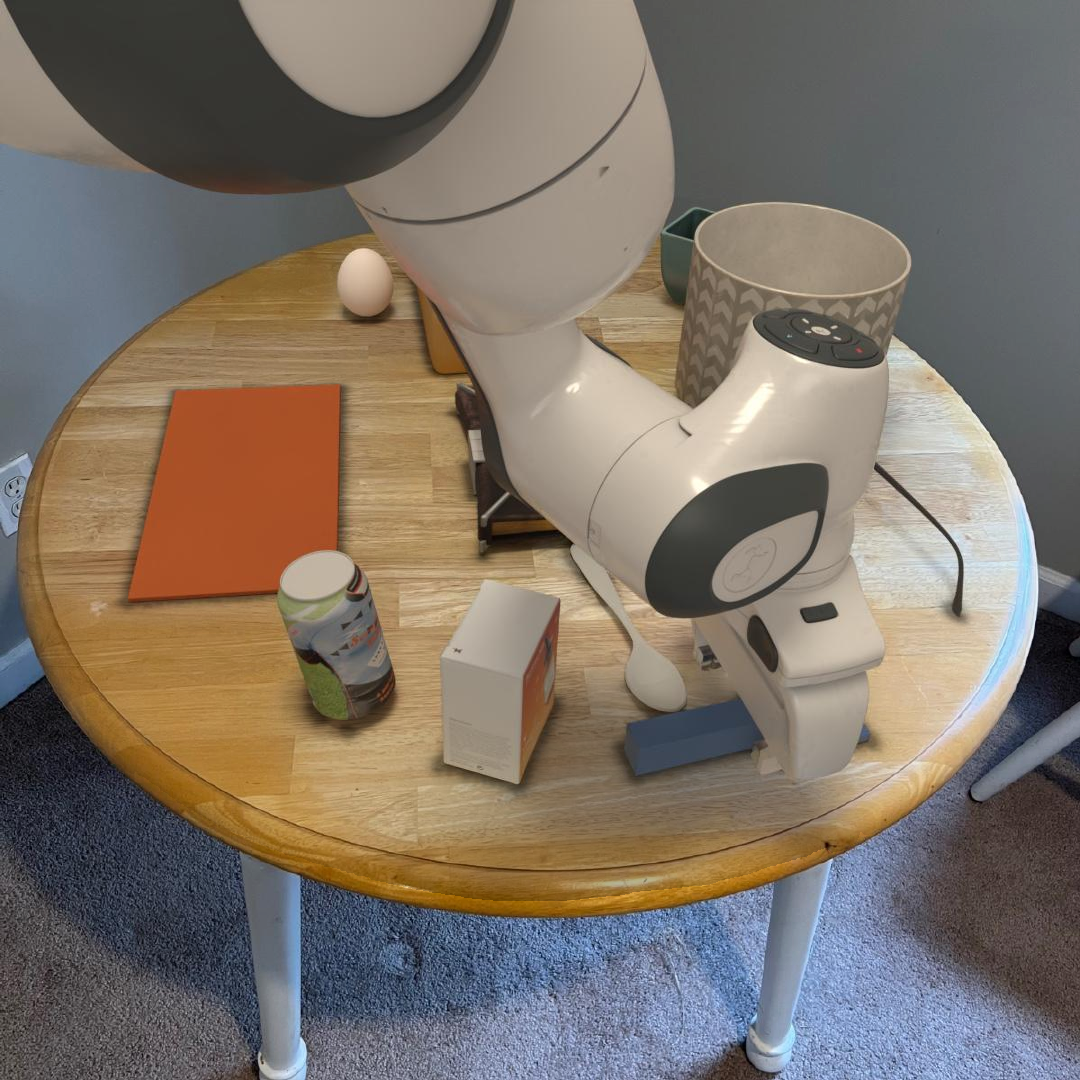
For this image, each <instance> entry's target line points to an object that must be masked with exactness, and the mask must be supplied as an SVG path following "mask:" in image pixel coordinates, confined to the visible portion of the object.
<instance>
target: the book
mask: <svg viewBox="0 0 1080 1080" xmlns="http://www.w3.org/2000/svg"><path fill="white" fill-rule="evenodd" d="M454 402H455V403H454V404H455V414H456V415H459V417H460V420H461V422H462V425H463V427H464V430H465V433H466V435H467V439H468V441H467V443H468V445H467V447H468V448H467V449H468V454H467V455H468V468H469V469H468V470H469V474H470V480H471V486H472V491H473V495H474V496H475V495H476V513H477V515H476V517H477V519H476V520H477V540H478V541H479V542H478V543H479V544H478V551H480V552H481V553H482V552H483V553H484V552H485V551H486V550H487V549H488V548H489V546H500V545H507V544H516V543H523V542H532V541H541V540H550V539H564V538H565V539H566V538H567V537H566V536H565V535H564V534H563V533H562V532H561V531H559V530H558V529H557V528H556V527H555V526H554V525H552V524H551V523H550V522H549V521H548V520H547V519H545V518H544V517H543V516H542V515H541V514H539V513H537V512H536V511H534V510H532V509H531V508H529V507H528V506H527V505H525V504H524V503H522V502H521V501H520V500H518V499H517V498H515V497H514V496H513V495H511V494H510V493H508V492H507V491H506V490H504V489H503V488H502V487H500V486H499V485H498V484H497V482H496V481H495V480H494V479H493V477H492V475H491V474H490V472H489V470H488V467H487V465H486V462H485V458H484V454H483V448H482V440H481V429H480V417H479V408H478V402H477V397H476V394H475V390H474V387H473V385H467V384H465V383H463V382H462V381H458V382H456V391H455V392H454Z"/></svg>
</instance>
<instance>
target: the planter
mask: <svg viewBox="0 0 1080 1080" xmlns="http://www.w3.org/2000/svg"><path fill="white" fill-rule="evenodd" d="M715 212H716V213H714V214H712V215H711V216H709V217H707V218H706V219H705V220H703V221H702V222H701V223H700V225H699V226H698V227H697V229H696V232H695V236H694V243H693V250H692V258H691V265H690V272H689V280H688V287H687V294H686V302H685V306H684V310H683V317H682V325H681V330H680V331H681V332H680V339H679V346H678V353H677V361H676V367H675V369H676V370H675V375H674V376H675V377H674V389H675V392H676V396H677V398H678V399H680V400H681V401H682V402H684V403H685V404H687V405H688V406H690V407H691V408H693V409H694V408H696V407H697V406H699V405H700V404H701V403H702V402H703V401H705V400H706V399H707V398H708V397H709V396H710V395H711V394H712V393H713V392H714V391H715V390H716V389H717V388H718V387H719V385H720V384H721V383H722V382H723V381H724V380H725V378H726V377H727V376H728V374H729V373H730V371H731V368H732V365H733V361H734V358H735V355H736V352H737V349H738V346H739V343H740V341H741V338H742V336H743V333H744V331H745V329H746V327H747V325H748V323H749V321H750V320H751V319H752V318H753V317H754V316H755V315H757V314H758V313H761V312H764V311H769V310H775V309H782V308H794V309H803V310H808V311H810V312H815V313H819V314H823V315H824V314H826V315H828V316H830V317H833V318H835V319H837V320H839V321H841V322H843V323H845V324H847V325H849V326H851V327H853V328H855V329H857V330H858V331H860V332H862V333H863V334H865V335H867V336H868V337H870V338H871V339H873V340H874V341H875V342H876V344H877V345H878V346H879V347H880V348H881V349H882V350H883V352H884V353H885V355H886V357H887V354H888V352H889V348H890V345H891V340H892V337H893V333H894V331H895V330H894V329H895V326H896V323H897V319H898V316H899V312H900V307H901V306H902V305H901V304H902V301H903V298H904V294H905V290H906V287H907V282H908V280H909V276H910V272H911V268H912V256H911V254H910V251H909V250H908V248H907V246H906V245H905V243H903V242H902V241H901V239H900V238H898V236H896V235H894V234H893V233H892V232H891V231H889V230H888V229H886V228H885V227H883V226H881V225H879V224H877V223H875V222H873V221H871V220H869V219H866V218H865V217H864V218H863V217H861V216H859V215H856V214H853V213H850V212H847V211H843V210H839V209H836V208H832V207H828V206H827V207H826V206H821V205H815V204H808V203H799V202H788V201H785V202H784V201H766V202H765V201H763V202H753V203H752V202H751V203H745V204H739V205H735V206H731V207H727V208H724V209H721V210H719V211H715Z"/></svg>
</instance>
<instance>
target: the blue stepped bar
mask: <svg viewBox="0 0 1080 1080" xmlns="http://www.w3.org/2000/svg"><path fill="white" fill-rule="evenodd" d="M870 737H871V732H870V731H869V729H868V728H867V726H866V725H865V724H863V727H862V730H861V734H860V737H859V740H858V743H857V744H860V743H863V742H867V741H869V740H870ZM760 740H765V739H764V737H763V735H762V733H761V732H760V730H759V728H758V727H757V725H756V723H755V721H754V720H753V718H752V716H751V715H750V713H749V711H748V710H747V708H746V706H745V705H744V703H743V701H742V700H741V698H740V697H739V698H735V699H731V700H726V701H721V702H717V703H713V704H708V705H703V706H699V707H695V708H691V709H690V708H689V709H685V710H682V711H681V710H680V711H676V712H671V713H667V714H663V715H659V716H655V717H650V718H645V719H641V720H637V721H632V722H628V723H627V724H626V731H625V737H624V746H623V751H624V753H625V755H626V757H627V760H628V761H629V763H630V766H631V768H632V770H633V772H634V775H635V776H641V775H646V774H650V773H654V772H659V771H662V770H663V771H664V770H667V769H671V768H674V767H679V766H684V765H688V764H693V763H697V762H701V761H705V760H710V759H712V758H713V759H714V758H717V757H721V756H726V755H730V754H734V753H735V754H736V753H739V752H743V751H746V750H752V747H753V743H754V742H756V741H760Z"/></svg>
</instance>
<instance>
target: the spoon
mask: <svg viewBox="0 0 1080 1080" xmlns="http://www.w3.org/2000/svg"><path fill="white" fill-rule="evenodd" d="M570 554H571V557H572V559H573V561H574V563H575V564H576V565H577V567H578V569H579V570H580V571H581V573H582V574H583V576H584V577H585V578H586V580H587V582H588V583H589V584H590V586H591V588H593V590H594V591H595V592H596V593H597V594H598V595H599V596H600V598H601V599H602V600H603V601H604V603H606V605H607V606H608V607H609V608H610V609H611V610H612V611H613V612H614V614H615V615H616V617H617V618H618V620H619V621H620V622H621V624H622V625H623V628H624V629H625V630H626V632H627V633H628V635H629V636H630V639H631V641H632V650H631V653H630V656H629V658H628V659H627V662H626V664H625V668H624V678H625V682H626V686H627V687H628V689H629V690H630V692H631V693H632V694H633V695H634V696H635V697H636V698H637V699H638V700H640V702H642V703H643V704H645V705H647V707H649V708H652V709H655V710H657V711H662V712H667V713H676V712H679V711H681V709H682V708H684V707H685V705H686V704H687V700H688V693H687V692H688V691H687V689H686V685H685V682H684V680H683V677H682V675H681V673H680V672H679V671H678V669H677V668H676V666H675V665H674V664H673V662H672V661H671V660H669V658H667V657H666V656H665V655H664V654H662V653H661V652H659V651H658V650H656V649H655V648H654V647H652V646H651V645H650V644H649V643H648V641H646V639H645V638H644V637H643V635H641V633H640V632H639V630H638V629H637V627H636V626H635V624H634V623H633V621H632V620H631V618H630V616H629V614H628V613H627V611H626V609H625V607H624V605H623V603H622V600H621V598H620V595H619V594H618V592H617V589H616V588H615V585H614V583H613V581H612V579H611V577H610V575H609V574H608V573H609V572H608V571H607V570H606V569H605V568H604V567H602V566H601V565H599V564H598V563H597V562H596V561H594V560H593V559H592V558H591V557H590V556H589V555H587V554H586V553H585V552H584V551H583V550H582V549H580V548H579V547H578V546H577V545H576V544H575V543H573V544H572V545H571V547H570Z"/></svg>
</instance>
